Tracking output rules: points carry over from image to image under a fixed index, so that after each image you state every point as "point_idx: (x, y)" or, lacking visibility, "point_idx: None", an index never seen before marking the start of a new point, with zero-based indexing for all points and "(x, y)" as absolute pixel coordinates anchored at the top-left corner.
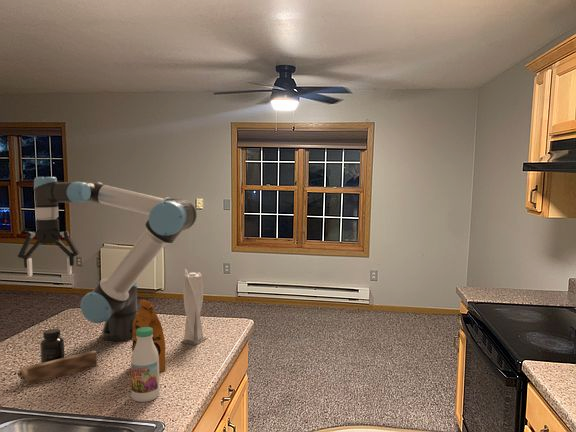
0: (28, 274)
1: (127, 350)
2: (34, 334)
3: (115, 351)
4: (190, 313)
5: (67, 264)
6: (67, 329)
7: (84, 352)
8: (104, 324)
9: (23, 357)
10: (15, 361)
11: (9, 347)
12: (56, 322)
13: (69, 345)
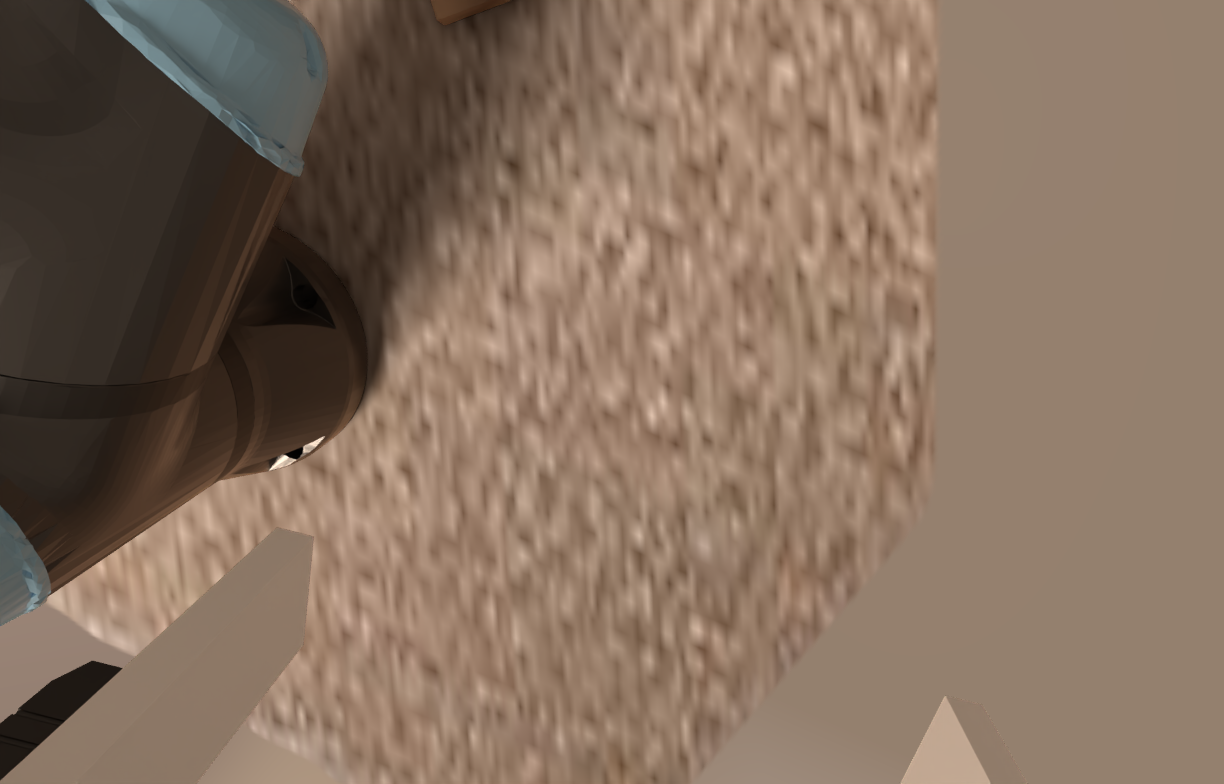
0: (987, 737)
1: None
2: (766, 568)
3: None
4: None
5: (162, 683)
6: (581, 576)
7: (441, 16)
8: (306, 360)
9: (824, 162)
10: (871, 103)
11: (907, 394)
12: (649, 723)
13: (554, 274)
